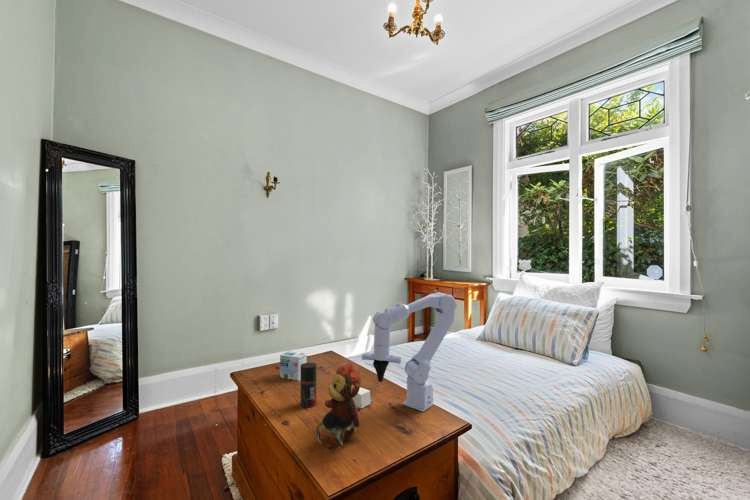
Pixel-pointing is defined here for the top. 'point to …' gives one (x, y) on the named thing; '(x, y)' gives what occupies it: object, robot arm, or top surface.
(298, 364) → the light bulb box
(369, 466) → the top surface
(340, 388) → the stuffed monkey
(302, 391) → the deodorant
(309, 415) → the top surface
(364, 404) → the block
